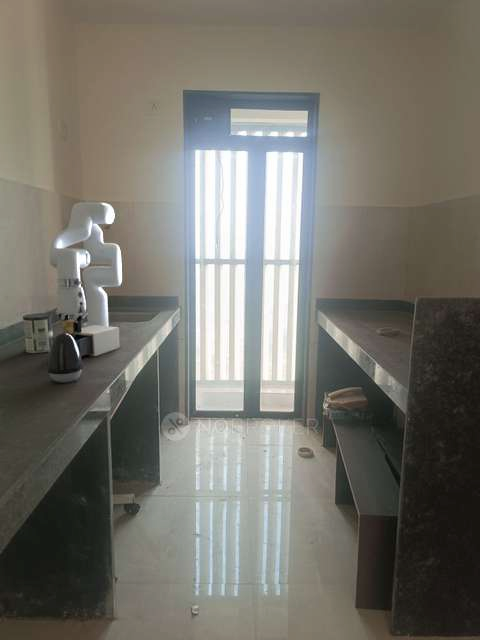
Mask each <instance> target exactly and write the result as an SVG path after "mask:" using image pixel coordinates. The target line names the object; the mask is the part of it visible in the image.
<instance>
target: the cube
mask: <svg viewBox="0 0 480 640" xmlns="http://www.w3.org/2000/svg"><path fill="white" fill-rule="evenodd" d="M74 323H75V321H74V319H69V320H67V321H63V322H62V333H68V334H72V333H73V332H74Z"/></svg>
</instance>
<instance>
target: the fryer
mask: <svg viewBox="0 0 480 640" xmlns="http://www.w3.org/2000/svg"><path fill="white" fill-rule="evenodd" d="M81 329H82V332H81V333H77V334H79V335H87V336H92V345H93V353H90V354H87V355H86V356H89V357H96V356H100V355H102V354H106V353H109V352H111V351H114V350H118V349H120V347H121V346H120V327H118V326H101V325H92V326H88V327H81Z"/></svg>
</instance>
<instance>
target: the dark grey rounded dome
mask: <svg viewBox="0 0 480 640" xmlns="http://www.w3.org/2000/svg"><path fill="white" fill-rule="evenodd" d="M75 335H76V333H75V332H73V333H72V334H71V335H70V334H68V333H63V332H60V333H57V334H56V335H55V336H54V337H53V338H54V339H53V341H52V344H51V347H50V351H49V352H48V355H47V363H46V364H47V365H46V368H47V373H48V375H49V377H50V378H51V379H52V380H53V381H54V382H56V383H58V384H59V383H60V384H66V383H71V382H74V381H77V379H79V377H80V376H81V374H82V370H83V368H84V364H83V359H82V356H81V355H80V352H79V349H78V346H77V344H76V342H75V340H74V339H73V337H74V336H75Z"/></svg>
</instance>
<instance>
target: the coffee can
mask: <svg viewBox="0 0 480 640" xmlns="http://www.w3.org/2000/svg"><path fill="white" fill-rule="evenodd" d="M22 321H23V331H24V341H25V342H24V343H25V352H26V353H28V354H41V353H46V352H45V351H44V348H50V347H51V344H52V338H54V335H53V323H52V322H53V321H52V314H51V313H46V312H43V313H30V314H25V315H22Z"/></svg>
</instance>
